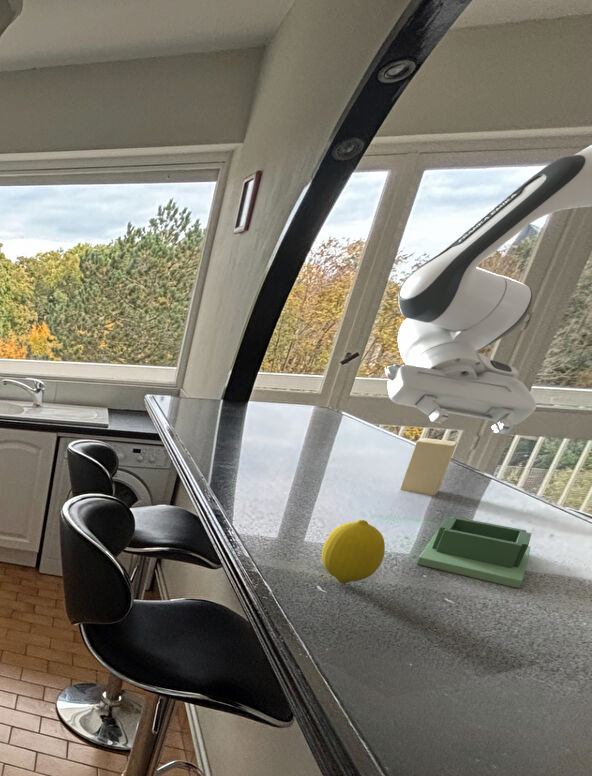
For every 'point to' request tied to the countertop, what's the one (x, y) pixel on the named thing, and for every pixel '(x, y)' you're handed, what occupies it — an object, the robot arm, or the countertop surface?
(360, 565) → the lemon
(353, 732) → the countertop surface
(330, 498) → the countertop surface
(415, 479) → the cream pad
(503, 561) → the base holder
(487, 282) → the robot arm
